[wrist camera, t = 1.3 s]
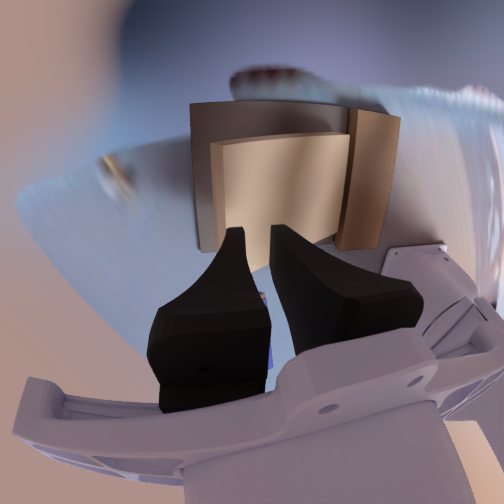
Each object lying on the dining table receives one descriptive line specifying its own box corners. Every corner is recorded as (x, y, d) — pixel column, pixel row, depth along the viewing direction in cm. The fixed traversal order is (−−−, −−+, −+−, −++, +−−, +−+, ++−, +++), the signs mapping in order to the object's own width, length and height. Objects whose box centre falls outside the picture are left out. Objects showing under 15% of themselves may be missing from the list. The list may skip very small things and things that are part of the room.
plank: (336, 131, 18) (349, 134, 17) (326, 226, 22) (337, 232, 22) (210, 142, 13) (222, 145, 12) (218, 272, 17) (229, 282, 16)
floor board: (390, 114, 18) (400, 117, 17) (369, 239, 25) (377, 247, 23) (189, 103, 16) (187, 104, 15) (201, 251, 23) (200, 261, 22)
